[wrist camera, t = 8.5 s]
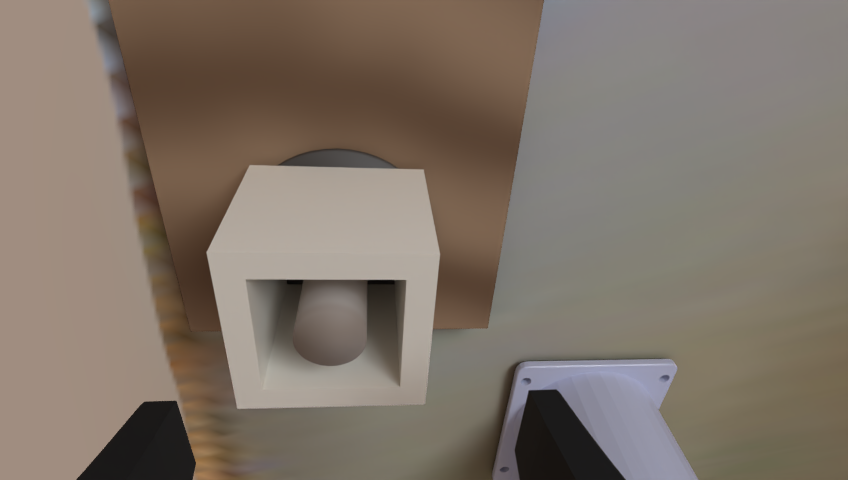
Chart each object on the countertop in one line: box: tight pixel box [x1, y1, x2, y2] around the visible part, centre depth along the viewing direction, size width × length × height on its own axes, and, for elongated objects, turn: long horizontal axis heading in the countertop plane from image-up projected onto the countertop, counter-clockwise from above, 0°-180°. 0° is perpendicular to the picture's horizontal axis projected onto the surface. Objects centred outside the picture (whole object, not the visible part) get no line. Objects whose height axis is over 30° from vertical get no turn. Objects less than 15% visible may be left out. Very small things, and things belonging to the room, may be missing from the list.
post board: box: [108, 0, 544, 366], centre depth 14 cm, size 18×12×6 cm, turn 176°
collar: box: [207, 165, 440, 409], centre depth 16 cm, size 6×6×5 cm
